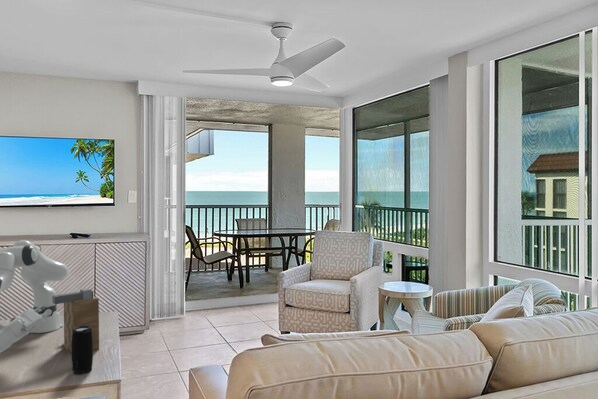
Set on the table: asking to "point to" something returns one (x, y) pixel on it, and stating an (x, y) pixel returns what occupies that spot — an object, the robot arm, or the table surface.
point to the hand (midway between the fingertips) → (47, 308)
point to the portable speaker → (82, 349)
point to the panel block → (81, 319)
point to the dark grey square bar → (73, 296)
